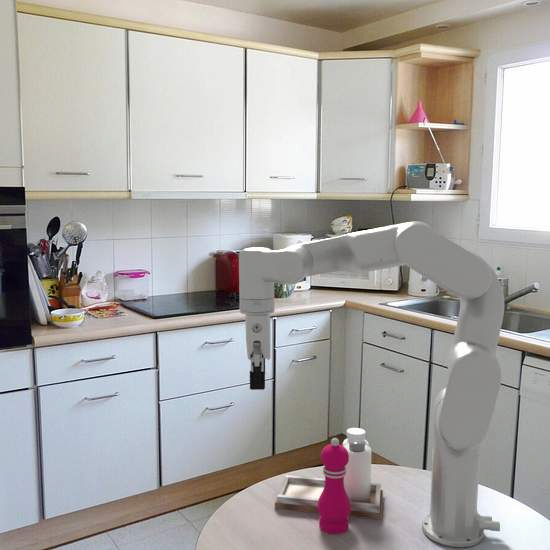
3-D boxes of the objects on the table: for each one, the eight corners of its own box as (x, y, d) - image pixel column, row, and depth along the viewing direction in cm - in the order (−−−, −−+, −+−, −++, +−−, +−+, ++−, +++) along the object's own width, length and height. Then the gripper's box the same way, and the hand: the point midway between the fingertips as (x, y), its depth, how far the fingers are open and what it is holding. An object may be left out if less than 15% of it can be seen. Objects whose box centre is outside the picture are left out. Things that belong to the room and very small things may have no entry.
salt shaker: (371, 493, 147) (372, 437, 146) (369, 507, 141) (370, 449, 139) (342, 490, 149) (343, 435, 147) (340, 504, 142) (341, 447, 140)
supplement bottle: (372, 478, 158) (374, 429, 157) (361, 488, 153) (363, 438, 151) (348, 471, 162) (349, 424, 160) (337, 481, 156) (338, 432, 155)
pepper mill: (349, 537, 131) (350, 446, 129) (314, 533, 133) (315, 443, 130) (351, 519, 138) (353, 433, 136) (319, 516, 140) (320, 430, 137)
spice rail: (382, 495, 149) (383, 484, 149) (381, 519, 139) (381, 506, 138) (283, 486, 154) (283, 474, 154) (274, 508, 143) (274, 496, 143)
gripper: (274, 313, 127) (275, 394, 129) (274, 298, 144) (274, 370, 146) (237, 313, 127) (238, 395, 129) (241, 298, 144) (242, 371, 146)
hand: (257, 382), depth 137 cm, fingers open, 9 cm apart
